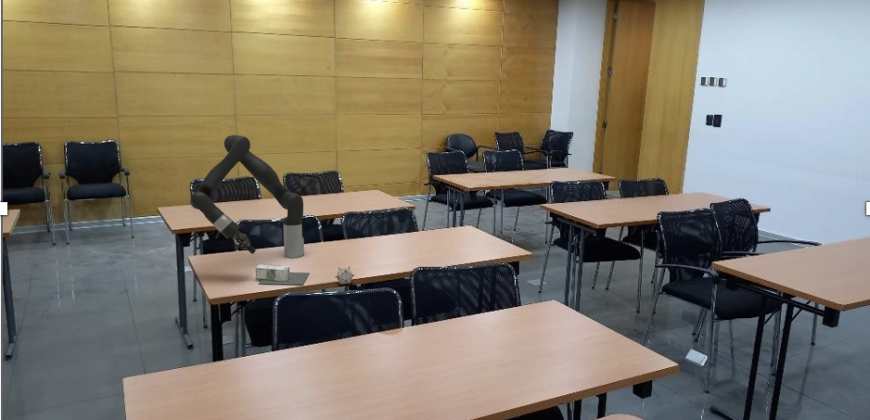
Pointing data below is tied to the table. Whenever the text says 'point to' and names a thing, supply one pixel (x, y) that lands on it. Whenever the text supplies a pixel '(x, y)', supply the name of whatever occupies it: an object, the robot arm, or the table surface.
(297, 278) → the mat
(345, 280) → the spiked polyhedron ball
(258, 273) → the syrup box
